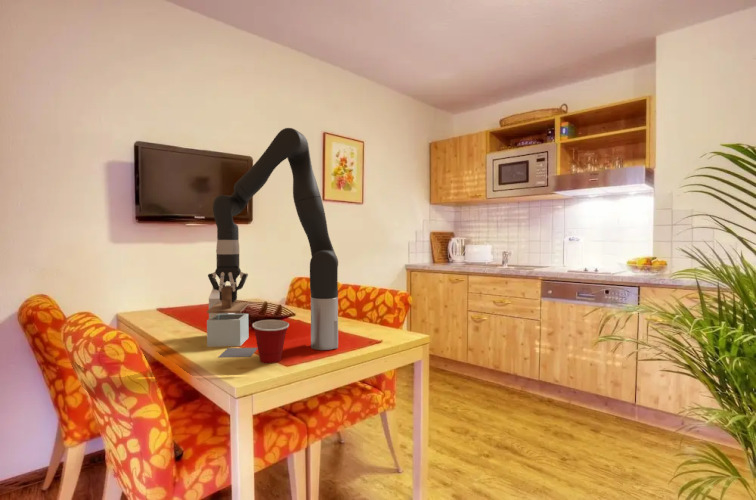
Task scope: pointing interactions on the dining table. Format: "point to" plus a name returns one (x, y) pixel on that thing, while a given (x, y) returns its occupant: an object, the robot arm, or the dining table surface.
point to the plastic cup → (270, 339)
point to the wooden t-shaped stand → (227, 303)
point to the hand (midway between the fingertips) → (228, 301)
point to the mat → (238, 352)
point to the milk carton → (214, 302)
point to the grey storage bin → (227, 330)
